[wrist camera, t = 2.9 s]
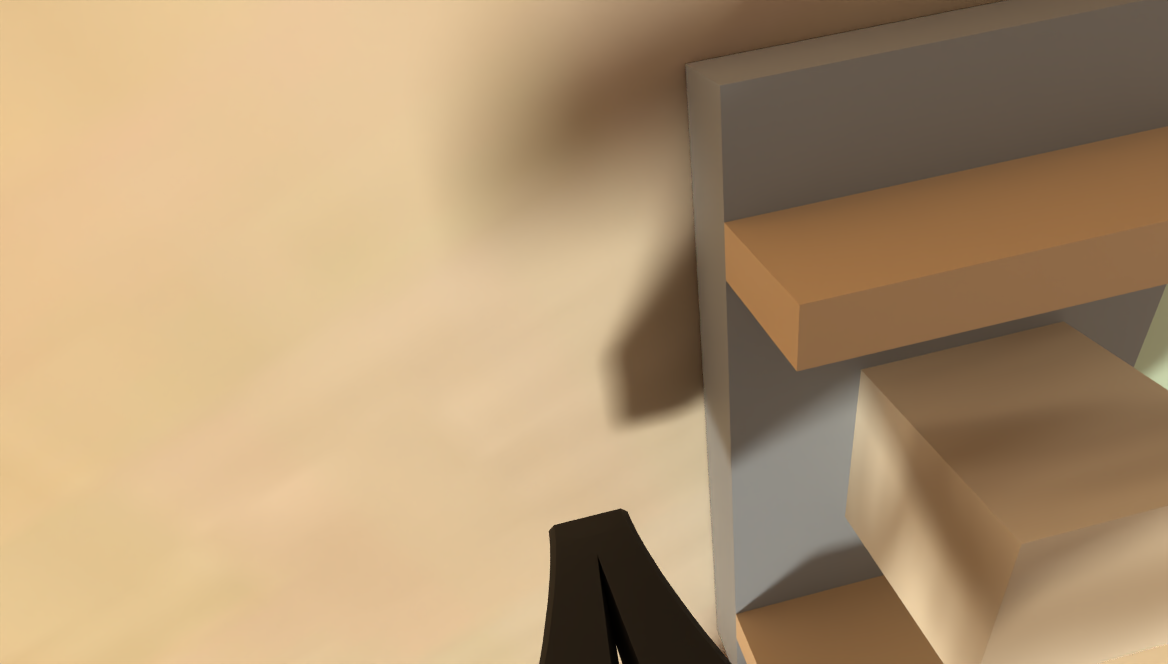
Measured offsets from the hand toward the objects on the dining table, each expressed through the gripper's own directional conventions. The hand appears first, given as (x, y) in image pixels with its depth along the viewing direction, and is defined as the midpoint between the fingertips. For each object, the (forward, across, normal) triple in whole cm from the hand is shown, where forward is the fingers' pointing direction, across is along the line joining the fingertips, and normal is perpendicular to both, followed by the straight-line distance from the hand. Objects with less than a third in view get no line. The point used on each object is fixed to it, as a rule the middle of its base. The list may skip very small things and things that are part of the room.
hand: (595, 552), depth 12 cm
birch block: (+1, -7, 0) cm, 7 cm away
